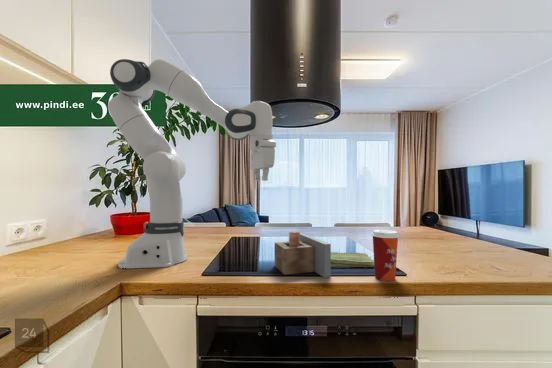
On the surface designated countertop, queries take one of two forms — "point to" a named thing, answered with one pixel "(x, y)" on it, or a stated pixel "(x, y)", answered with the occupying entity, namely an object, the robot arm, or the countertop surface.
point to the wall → (319, 254)
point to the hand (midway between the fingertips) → (261, 180)
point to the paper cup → (385, 254)
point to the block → (294, 258)
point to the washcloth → (350, 260)
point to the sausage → (294, 238)
